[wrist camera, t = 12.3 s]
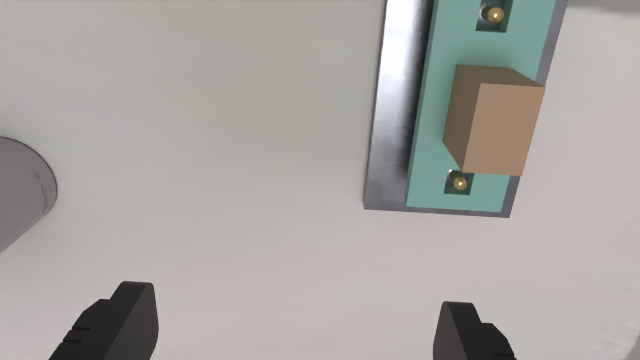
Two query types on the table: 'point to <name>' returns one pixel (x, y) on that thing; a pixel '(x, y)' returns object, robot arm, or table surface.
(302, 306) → the table surface
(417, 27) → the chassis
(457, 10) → the board
